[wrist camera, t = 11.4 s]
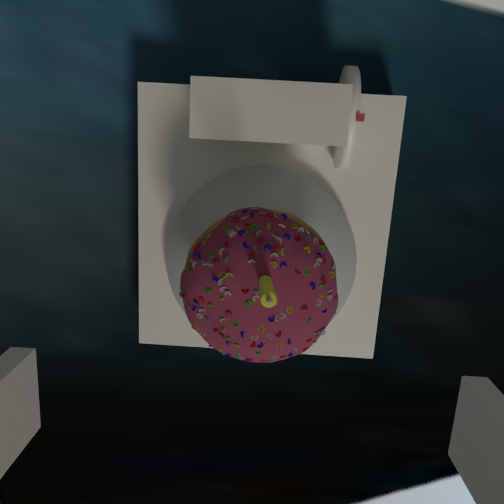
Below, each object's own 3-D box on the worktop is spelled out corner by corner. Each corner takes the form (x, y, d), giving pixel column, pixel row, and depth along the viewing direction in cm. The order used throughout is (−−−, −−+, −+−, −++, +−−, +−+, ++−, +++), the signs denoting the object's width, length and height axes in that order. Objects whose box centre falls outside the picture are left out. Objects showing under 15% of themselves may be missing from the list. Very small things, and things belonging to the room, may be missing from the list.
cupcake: (211, 181, 29) (170, 215, 17) (346, 216, 29) (398, 273, 17) (181, 310, 31) (128, 419, 19) (308, 341, 31) (331, 468, 19)
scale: (150, 325, 35) (116, 380, 28) (150, 65, 31) (109, 43, 23) (364, 339, 35) (390, 398, 27) (396, 78, 30) (439, 60, 23)
